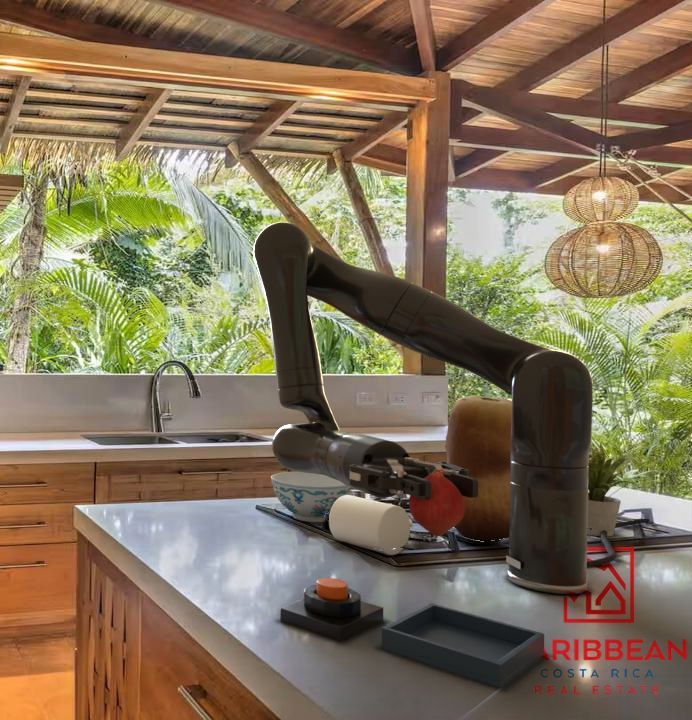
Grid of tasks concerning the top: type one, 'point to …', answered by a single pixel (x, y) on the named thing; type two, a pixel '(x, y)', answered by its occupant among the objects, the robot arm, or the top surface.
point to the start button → (332, 588)
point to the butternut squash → (483, 464)
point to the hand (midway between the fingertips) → (452, 489)
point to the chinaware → (308, 494)
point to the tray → (464, 643)
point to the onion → (438, 505)
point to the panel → (332, 614)
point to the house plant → (603, 492)
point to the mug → (369, 524)
